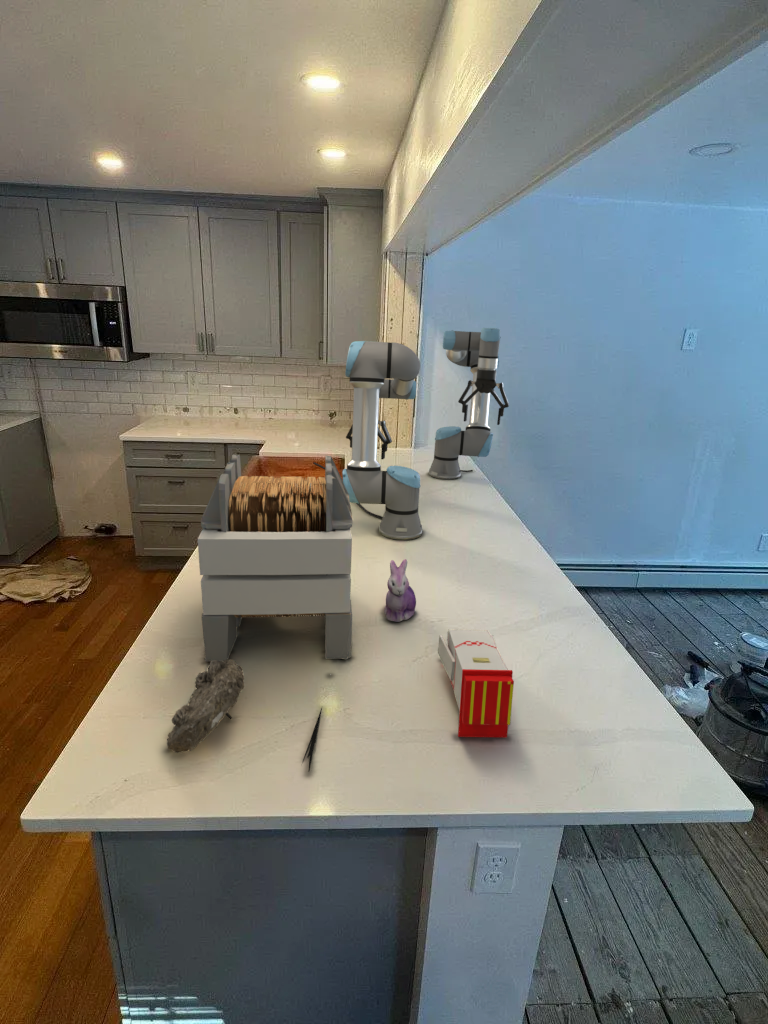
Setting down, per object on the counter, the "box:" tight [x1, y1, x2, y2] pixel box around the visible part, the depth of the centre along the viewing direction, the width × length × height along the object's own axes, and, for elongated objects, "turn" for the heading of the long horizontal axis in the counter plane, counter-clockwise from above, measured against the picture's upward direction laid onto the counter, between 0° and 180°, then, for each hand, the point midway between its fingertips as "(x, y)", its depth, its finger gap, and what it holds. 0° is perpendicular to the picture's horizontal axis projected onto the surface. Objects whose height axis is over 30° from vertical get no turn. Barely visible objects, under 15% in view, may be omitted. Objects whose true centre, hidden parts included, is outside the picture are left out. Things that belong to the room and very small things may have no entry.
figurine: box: [384, 558, 417, 623], centre depth 145 cm, size 9×10×15 cm
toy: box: [437, 628, 515, 738], centre depth 117 cm, size 12×13×30 cm
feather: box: [301, 673, 332, 771], centre depth 108 cm, size 2×28×2 cm
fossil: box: [166, 658, 245, 754], centre depth 106 cm, size 22×10×15 cm
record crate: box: [197, 454, 354, 663], centre depth 134 cm, size 34×33×41 cm
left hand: (368, 456), depth 247 cm, fingers open, 13 cm apart
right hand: (481, 422), depth 231 cm, fingers open, 13 cm apart
